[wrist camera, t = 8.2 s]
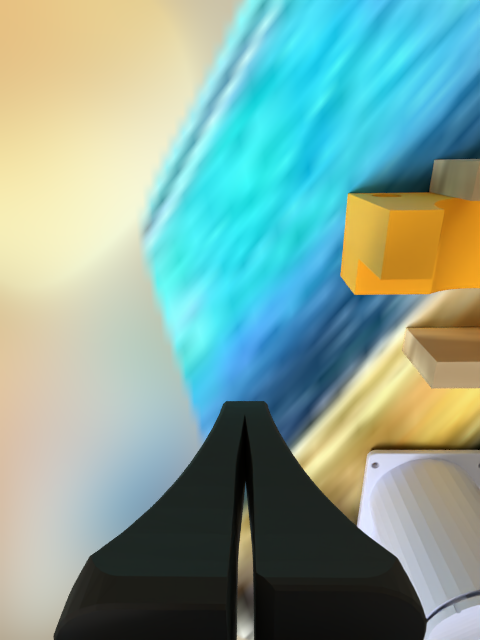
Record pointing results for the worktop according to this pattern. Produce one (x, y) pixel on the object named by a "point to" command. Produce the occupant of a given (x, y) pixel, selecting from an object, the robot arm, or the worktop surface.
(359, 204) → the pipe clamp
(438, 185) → the wooden open tray
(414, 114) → the worktop surface
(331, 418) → the worktop surface
